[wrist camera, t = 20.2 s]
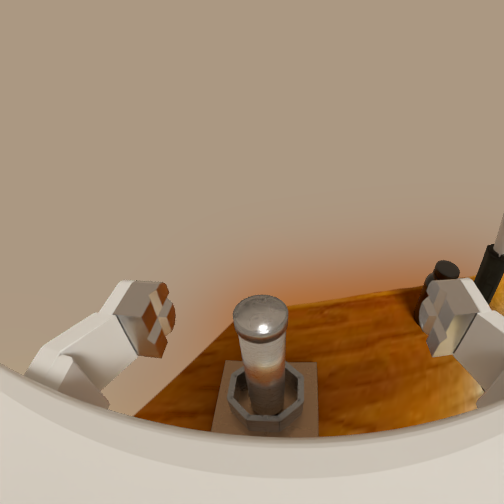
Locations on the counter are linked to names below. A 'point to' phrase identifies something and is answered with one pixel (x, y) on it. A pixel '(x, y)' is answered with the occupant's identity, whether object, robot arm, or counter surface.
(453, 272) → the supplement bottle
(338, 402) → the counter surface
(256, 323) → the grey tall capped cylinder
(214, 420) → the duct collar
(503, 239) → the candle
